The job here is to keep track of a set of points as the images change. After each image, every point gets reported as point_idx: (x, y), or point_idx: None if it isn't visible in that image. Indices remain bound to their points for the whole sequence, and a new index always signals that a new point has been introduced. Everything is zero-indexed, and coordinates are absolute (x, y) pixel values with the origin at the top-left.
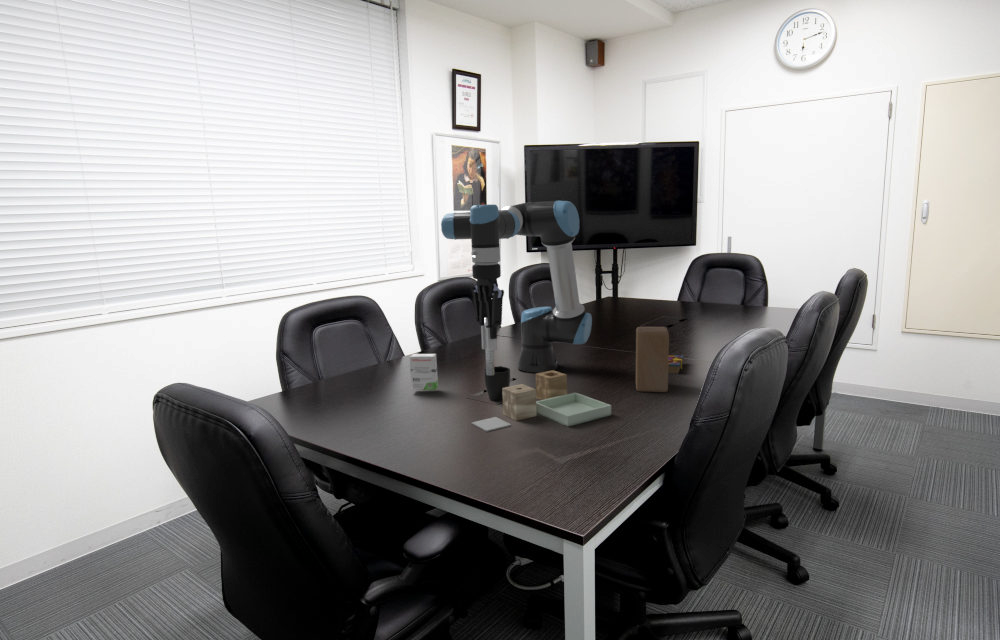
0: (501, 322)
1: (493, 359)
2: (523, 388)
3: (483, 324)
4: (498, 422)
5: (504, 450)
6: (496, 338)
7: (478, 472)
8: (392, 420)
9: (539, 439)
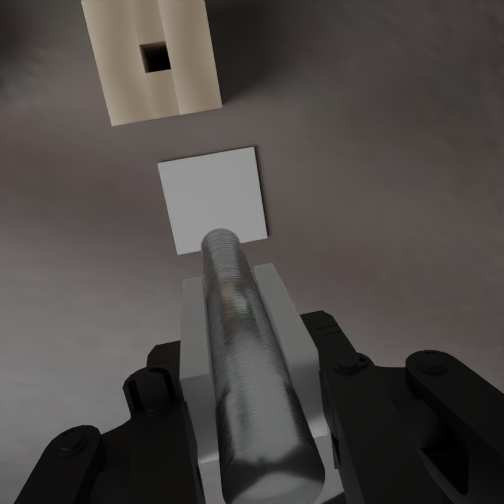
0: (462, 364)
1: (245, 260)
2: (160, 34)
3: (195, 447)
4: (217, 177)
5: (414, 240)
6: (323, 312)
7: (485, 335)
8: (46, 445)
9: (400, 117)
